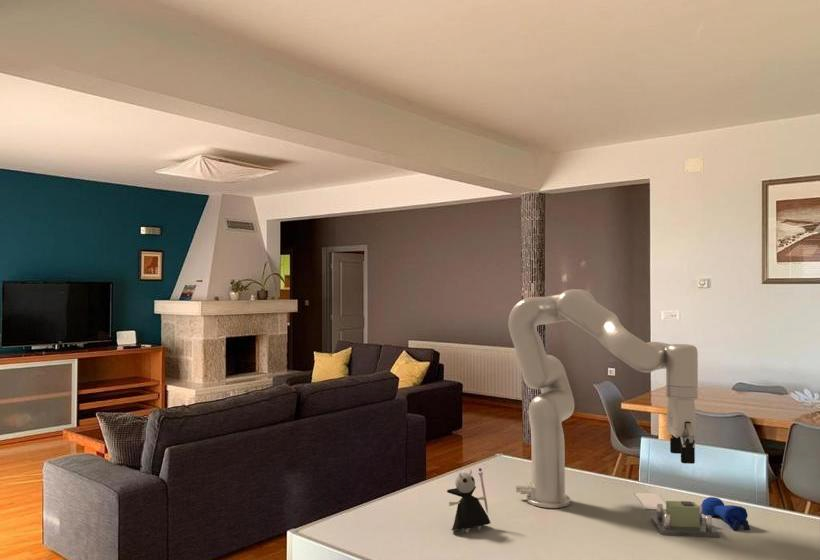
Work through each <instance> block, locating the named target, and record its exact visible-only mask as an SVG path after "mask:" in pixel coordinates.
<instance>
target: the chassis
mask: <svg viewBox="0 0 820 560" xmlns="http://www.w3.org/2000/svg"><path fill="white" fill-rule="evenodd" d="M697 506H698V507H699V508H700V527H677V526H671V525H670V514H668V513H666V512H665V513H664V510H663V505H662V504H657V510H656V511H657V512H656V515H650V521H651V523H652V524H653V525H654V527H655V529H656V530H657V532H658V533H659V534H660V536H661V535H665V536H683V537H685V536H686V537H704V538H705V537H706V538H708V537H709V538H719V537H720V532H719V530H717V528H716V527H715V526H714V525H713V523H712V521H713V520H712V518H713V517H712V516H710V515H706V516H705V515H704V516H705V517H703V514H702V506H701V504H700V505H699V504H697Z"/></svg>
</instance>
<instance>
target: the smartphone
mask: <svg viewBox="0 0 820 560" xmlns="http://www.w3.org/2000/svg"><path fill="white" fill-rule="evenodd" d="M633 494H634V495H635V496H636V498H637V500H638V501H639V502H640V504H641V505H642V506H643V508H644V509H645V510H647V511H657V504H662V505H663V511H666V501H664V499H663V497H661V496H660V494H659V493H656V492H633Z"/></svg>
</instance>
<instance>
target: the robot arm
mask: <svg viewBox="0 0 820 560" xmlns="http://www.w3.org/2000/svg"><path fill="white" fill-rule="evenodd" d="M567 321H569V322H571V323H573V324H574V325H575V326H577V327H578V328H580V329H582V330H583V331H585V332H586V333H588V334H589V335H591V336H592V337H594V338H595V339H597V340H598V342H600V344H601V345H602V346H603V347H604V348H606V349H607V351H609V352H610V353H611V354H612V355H613V356H614V357H616V358H618V359H619V360H620V361H622V362H624V363H625V364H626V365H628V366H629V367H631V368H632V369H633V370H636V371H638V372H642V373H651V372H654V371H658V370H662V369H663V370H664V369H665V370H666V371H665V372H666V373H665V375H666V377H665V379H666V383H665V385H666V387H665V389H666V390H665V391H666V392H665V396H666V398H667V408H666V409H667V412H666V431H667V432H668V433H669V435H670V436H669V437H670V438H669V446H670V448H669V449H670V450H669V452H670V453H671V454H677V455H678V454H680V463H682V464H689V465H690V464H695V463H696V462H695V461H696V460H695V459H696V455H695V454H696V453H695V451H696V445H695V443H696V442H695V437H696V433H697V428H696V427H697V426H696V425H697V423H696V422H697V420H696V417H697V416H696V404H695V400H698V399H699V398H698V397H699V395H698V394H699V392H698V391H699V390H698V389H699V387H698V385H699V379H698V377H699V376H698V375H699V374H698V372H699V371H698V369H699V367H698V364H699V363H698V362H699V360H698V359H699V357H698V355H699V354H698V353H699V351H698V349H697V347H696V346H695V345H693V344H689V343H688V344H687V343H685V344H684V343H672V344H671V343H665V342H660V341H649V342H645V341H644V340H643V339H640V338H639V337H638V336H636V335H634V334H633V333H632V332H630V331H628V330H627V328H625V327H624V326H623V325H622V324H621V322H620V320H619V317H618V316H617V314H615V313H614V312H613V311H610V310H609V309H607V308H606V307H604V305H601V304H600V303H598V302H597V301H596V299H595V297H594V296H593V295H592V294H591V292H589V291H587V290H586V289H585V290H584V289H581V288H580V289H578V288H577V289H576V288H575V289H573V288H572V289H567V290H565V291H563V292H562V293H560V294H559V293H558V294H553V295H549V296H531V297H530V296H529V297H525V298H523V299H521V300H519V301H518V302H517V303H516V304H515V305H514V306H513V307H512V309H511V311H510V313H509V316H508V330H509V335H510V338H511V341H512V344H513V346H514V350H515V355H516V358H517V362H518V365H519V368H520V371H521V372H520V373H521V375H522V379H523V381H524V383H525V385H526V386H527V387H529V388H530V389H533V390H540V394H538V395H536V396H534V398H533V399H532V400H531V402H530V403H529V406H528V420H529V426H530V439H531V440H530V441H531V442H530V444H531V445H530V446H531V448H530V449H531V482H530V483H529V484H526V486H524V485H516V486H515V493H520V495H526V501H527V502H528V503H529V504H530V505H533V506H536V507H540V508H545V509H547V508H548V509H559V508H566V507H567V506H569V505H570V504H571V503H572V502H571V497H570V496H569V495H567V494H566V479H565V478H566V476H565V475H566V474H565V473H566V471H565V470H566V467H565V466H566V464H565V463H566V461H565V457H566V456H565V449H566V448H565V433H564V428H563V425H562V423H563V422H564V421H566V420H567V419H569V418H571V416H572V415H573V413H574V411H575V398H574V395H573V392H572V389H571V385H570V381H569V378H568V376H567V373H566V369H565V367H564V364H563V362H561V360H560V359H559V358H557V357H555V356H554V355H551V354H547V352H546V349H545V345H544V342H543V340H542V337H541V335H540V333H539V332H538V330H537V327H538V326H542V325H543V326H544V325H551V324H556V323H557V324H558V323H562V322H567Z"/></svg>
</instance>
